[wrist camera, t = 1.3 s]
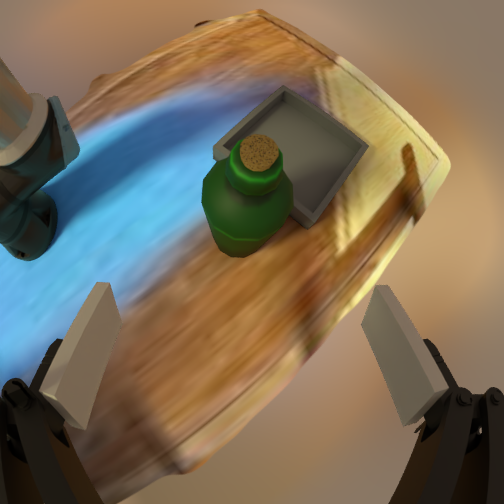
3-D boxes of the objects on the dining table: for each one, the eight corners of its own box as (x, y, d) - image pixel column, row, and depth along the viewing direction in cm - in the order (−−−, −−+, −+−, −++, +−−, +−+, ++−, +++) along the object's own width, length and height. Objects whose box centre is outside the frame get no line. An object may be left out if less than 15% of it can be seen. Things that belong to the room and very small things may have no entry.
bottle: (259, 200, 51) (298, 98, 24) (274, 256, 49) (338, 197, 22) (201, 212, 49) (185, 112, 22) (215, 270, 48) (208, 223, 20)
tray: (213, 158, 51) (212, 146, 47) (279, 97, 56) (283, 85, 52) (307, 229, 51) (315, 222, 46) (360, 155, 56) (369, 145, 51)
